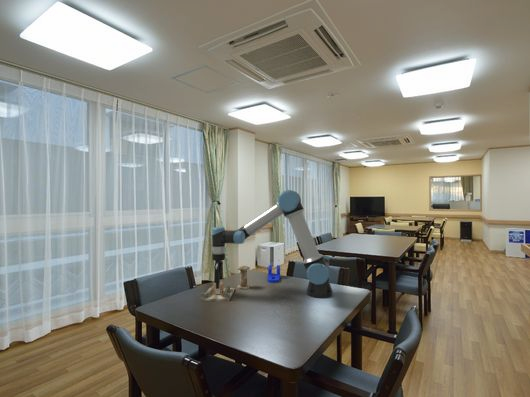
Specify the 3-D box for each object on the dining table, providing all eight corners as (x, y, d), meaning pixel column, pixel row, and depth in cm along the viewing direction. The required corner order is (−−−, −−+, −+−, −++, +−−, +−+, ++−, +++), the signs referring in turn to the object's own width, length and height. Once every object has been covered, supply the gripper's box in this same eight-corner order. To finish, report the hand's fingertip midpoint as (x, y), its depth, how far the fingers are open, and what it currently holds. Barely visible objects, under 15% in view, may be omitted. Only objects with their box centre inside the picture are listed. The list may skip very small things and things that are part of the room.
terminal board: (234, 289, 179) (234, 284, 179) (229, 300, 159) (229, 294, 159) (209, 289, 180) (209, 283, 180) (201, 300, 160) (201, 294, 160)
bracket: (269, 276, 212) (269, 264, 213) (280, 276, 212) (280, 264, 212) (266, 283, 195) (266, 269, 195) (278, 283, 194) (278, 270, 194)
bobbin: (250, 285, 188) (250, 266, 188) (249, 289, 180) (249, 268, 180) (238, 285, 188) (238, 266, 188) (236, 289, 180) (236, 268, 180)
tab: (223, 291, 172) (223, 280, 172) (221, 294, 167) (221, 282, 167) (215, 291, 172) (215, 280, 173) (213, 294, 167) (213, 282, 168)
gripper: (215, 250, 180) (216, 287, 179) (208, 256, 161) (208, 297, 161) (227, 250, 179) (228, 287, 179) (221, 256, 161) (222, 297, 160)
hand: (219, 292), depth 170 cm, fingers open, 5 cm apart
